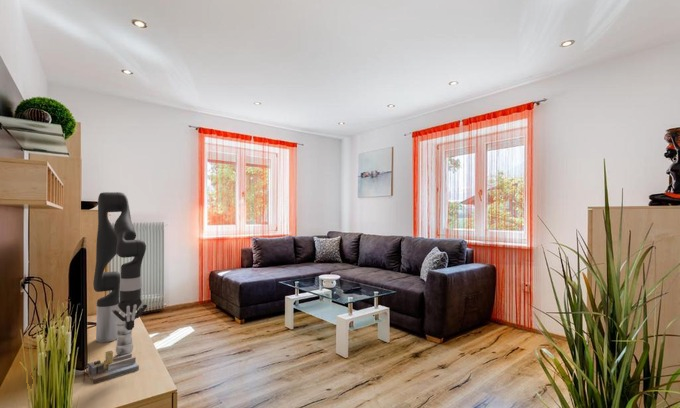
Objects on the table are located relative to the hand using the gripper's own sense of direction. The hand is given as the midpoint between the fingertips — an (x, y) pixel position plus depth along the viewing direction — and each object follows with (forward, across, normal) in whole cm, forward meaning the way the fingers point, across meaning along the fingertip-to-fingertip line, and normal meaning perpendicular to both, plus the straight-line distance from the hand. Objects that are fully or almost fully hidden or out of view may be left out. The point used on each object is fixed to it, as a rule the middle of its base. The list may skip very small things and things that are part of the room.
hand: (129, 329), depth 140 cm
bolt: (+13, +9, 0) cm, 16 cm away
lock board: (+15, +6, 0) cm, 16 cm away
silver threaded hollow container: (+15, -2, -13) cm, 20 cm away
